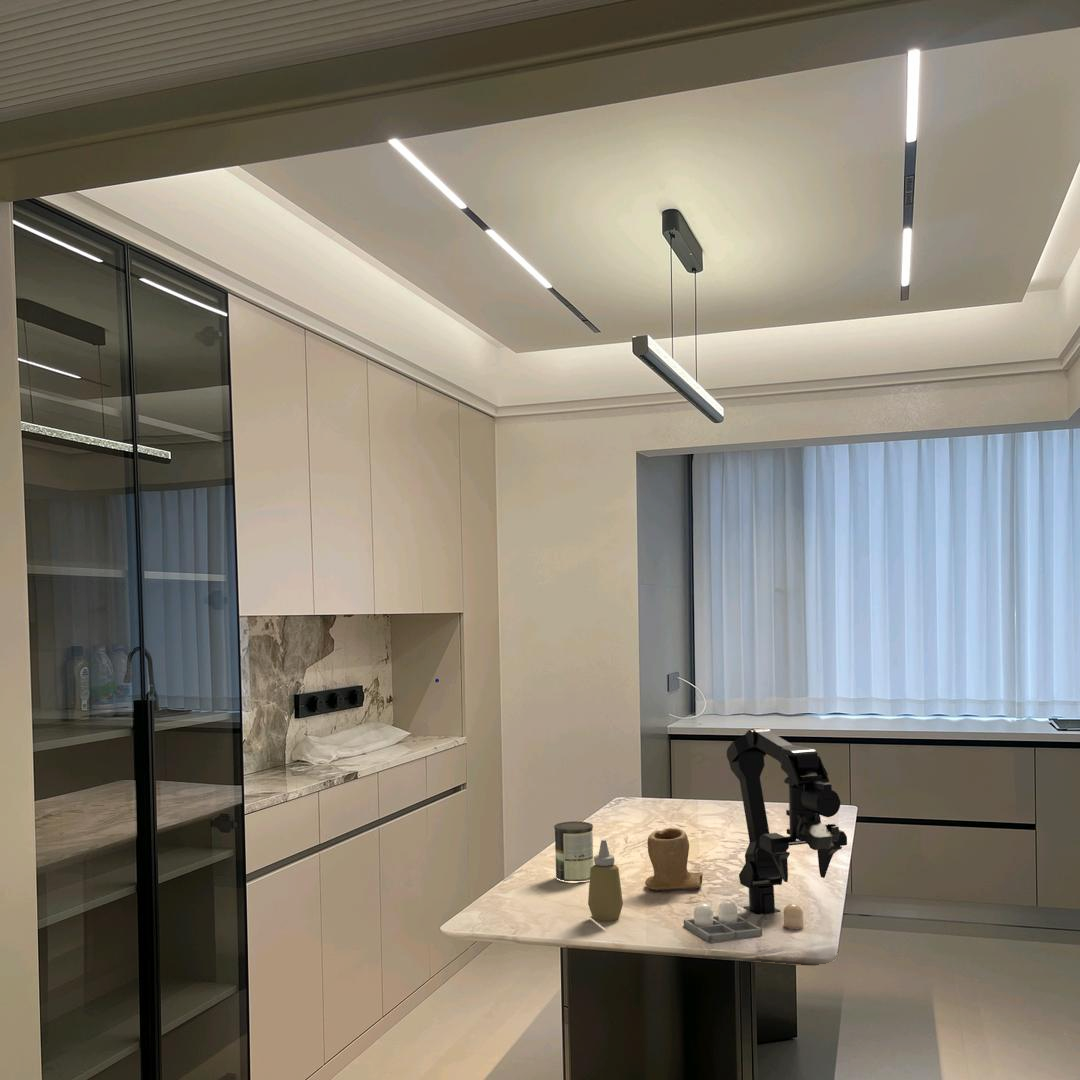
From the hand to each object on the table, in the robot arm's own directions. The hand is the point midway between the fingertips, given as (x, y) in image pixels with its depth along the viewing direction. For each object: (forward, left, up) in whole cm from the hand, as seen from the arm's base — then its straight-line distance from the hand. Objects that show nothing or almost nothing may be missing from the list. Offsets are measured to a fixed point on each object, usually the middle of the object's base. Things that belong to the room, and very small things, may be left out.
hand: (804, 879), depth 231 cm
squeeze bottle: (-27, -36, -12) cm, 47 cm away
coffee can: (-65, -30, -12) cm, 73 cm away
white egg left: (-11, -13, -11) cm, 20 cm away
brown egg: (-5, 0, -12) cm, 13 cm away
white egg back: (-11, -19, -11) cm, 25 cm away
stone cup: (-45, -10, -12) cm, 48 cm away
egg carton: (-8, -16, -12) cm, 21 cm away
